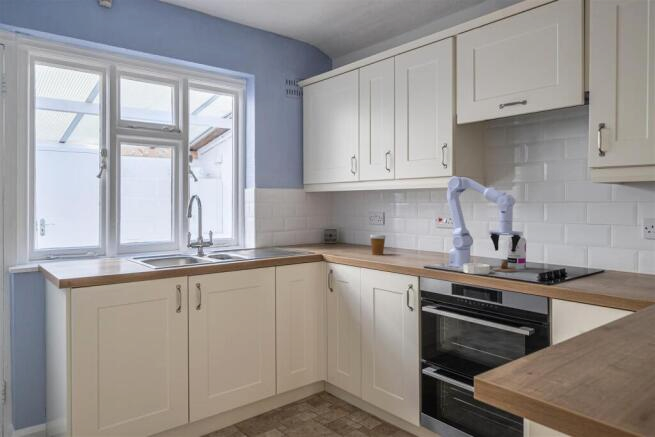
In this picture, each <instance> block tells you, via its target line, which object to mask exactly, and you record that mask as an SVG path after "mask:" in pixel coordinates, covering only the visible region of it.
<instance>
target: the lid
mask: <svg viewBox="0 0 655 437" xmlns="http://www.w3.org/2000/svg"><path fill="white" fill-rule="evenodd" d="M500 261H501V264H500V265H501V266H494V267H492V268H493V271H497V272H496V273H503V272H517V271H518V269H516V268H510V267H508V260H507V259H501V260H500ZM493 271H492V272H493ZM517 273H518V272H517Z"/></svg>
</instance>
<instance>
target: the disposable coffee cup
mask: <svg viewBox="0 0 655 437" xmlns="http://www.w3.org/2000/svg"><path fill="white" fill-rule="evenodd" d="M369 238H370V245H371V253H372V254H371V255H373V256H383V255H384V250H385V241H386V234H385V233H384V234H382V233H371V234H370V236H369Z"/></svg>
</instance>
